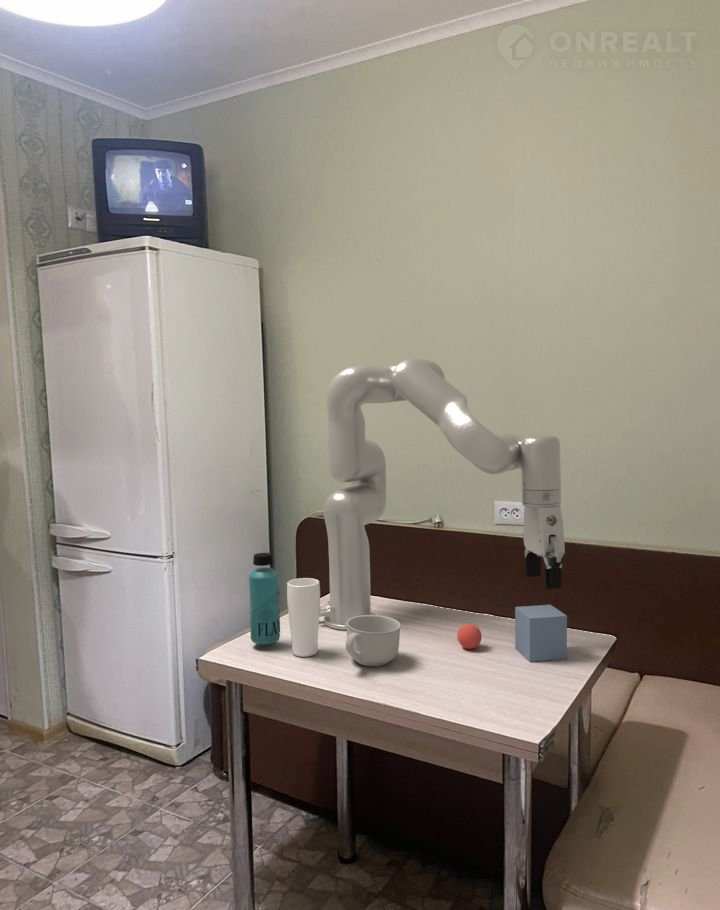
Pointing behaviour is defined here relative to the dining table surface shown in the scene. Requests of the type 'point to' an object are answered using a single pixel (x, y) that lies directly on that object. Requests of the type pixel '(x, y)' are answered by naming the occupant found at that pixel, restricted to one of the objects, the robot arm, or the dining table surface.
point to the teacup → (372, 639)
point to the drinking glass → (304, 615)
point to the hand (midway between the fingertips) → (542, 581)
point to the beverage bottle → (264, 601)
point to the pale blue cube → (540, 633)
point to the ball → (469, 636)
